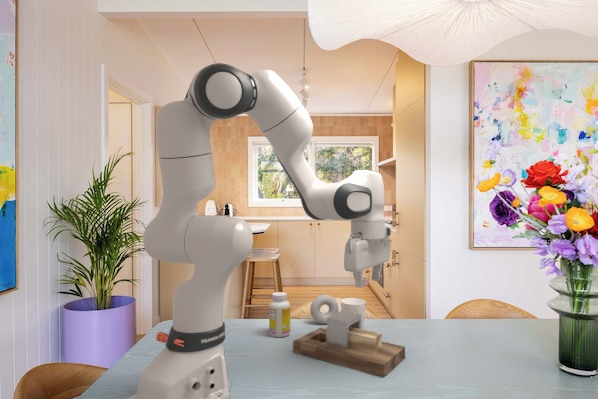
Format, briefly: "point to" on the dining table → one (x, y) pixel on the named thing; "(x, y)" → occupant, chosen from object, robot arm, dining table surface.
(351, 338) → the gold bar
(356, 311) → the white cup
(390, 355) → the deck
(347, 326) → the tunnel
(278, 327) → the supplement bottle
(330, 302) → the donut
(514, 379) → the dining table surface
